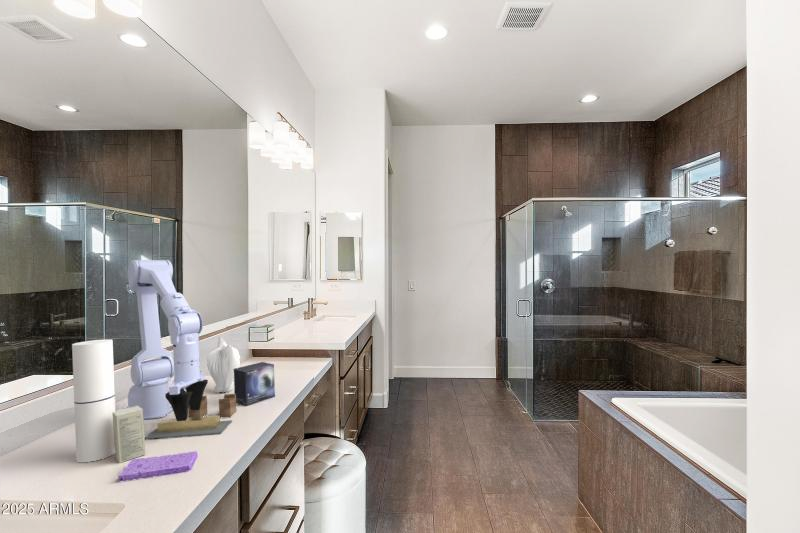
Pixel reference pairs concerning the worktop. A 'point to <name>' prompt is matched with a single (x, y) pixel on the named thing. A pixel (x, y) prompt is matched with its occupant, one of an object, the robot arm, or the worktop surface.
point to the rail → (189, 424)
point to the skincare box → (128, 433)
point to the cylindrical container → (94, 399)
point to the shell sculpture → (223, 365)
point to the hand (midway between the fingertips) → (188, 414)
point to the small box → (254, 383)
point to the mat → (190, 432)
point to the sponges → (158, 466)
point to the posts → (225, 407)
